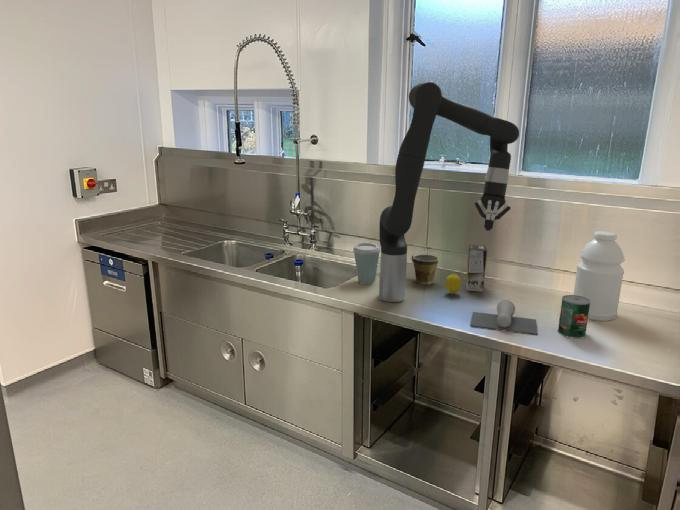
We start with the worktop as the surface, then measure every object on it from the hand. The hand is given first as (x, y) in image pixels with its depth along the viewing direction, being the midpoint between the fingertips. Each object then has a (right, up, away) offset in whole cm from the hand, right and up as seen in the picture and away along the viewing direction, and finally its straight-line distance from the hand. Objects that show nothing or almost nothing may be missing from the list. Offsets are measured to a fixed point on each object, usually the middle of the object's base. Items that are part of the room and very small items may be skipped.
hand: (487, 230), depth 185 cm
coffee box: (-1, -22, +16) cm, 27 cm away
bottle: (+33, -29, -9) cm, 45 cm away
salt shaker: (+3, -25, -12) cm, 28 cm away
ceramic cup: (-20, -19, +24) cm, 36 cm away
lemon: (-11, -23, +9) cm, 27 cm away
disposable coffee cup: (-42, -20, +22) cm, 51 cm away
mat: (0, -31, -18) cm, 36 cm away
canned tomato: (+19, -33, -24) cm, 45 cm away
